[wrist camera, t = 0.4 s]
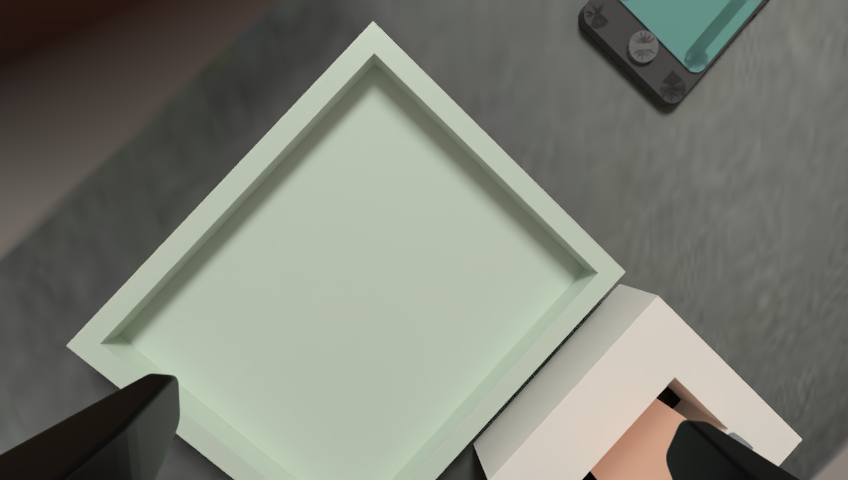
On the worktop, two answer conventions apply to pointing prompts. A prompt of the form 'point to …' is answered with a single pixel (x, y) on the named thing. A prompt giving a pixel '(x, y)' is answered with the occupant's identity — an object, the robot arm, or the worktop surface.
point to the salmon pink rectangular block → (642, 447)
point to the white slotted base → (622, 394)
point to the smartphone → (666, 38)
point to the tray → (354, 286)
